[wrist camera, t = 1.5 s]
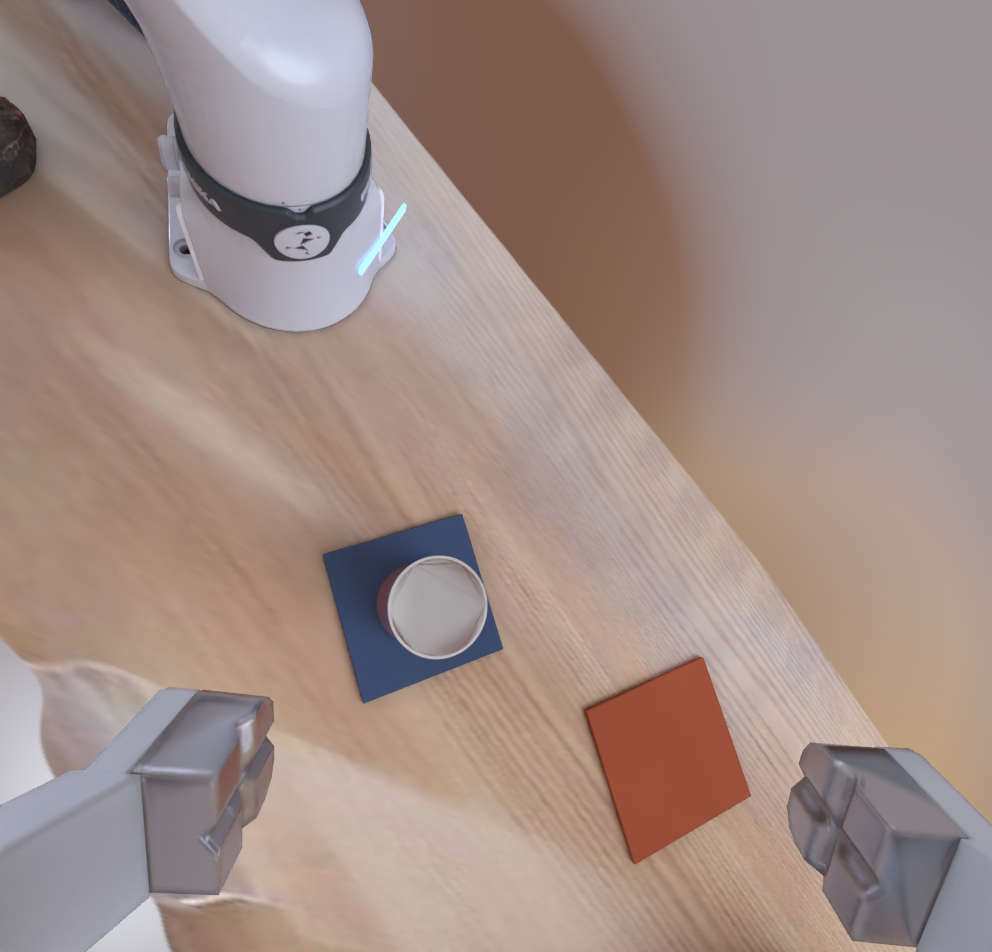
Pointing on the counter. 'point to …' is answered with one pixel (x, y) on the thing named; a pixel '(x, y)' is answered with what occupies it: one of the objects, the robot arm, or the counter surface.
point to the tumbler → (433, 606)
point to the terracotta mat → (667, 757)
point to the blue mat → (355, 594)
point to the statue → (15, 147)
